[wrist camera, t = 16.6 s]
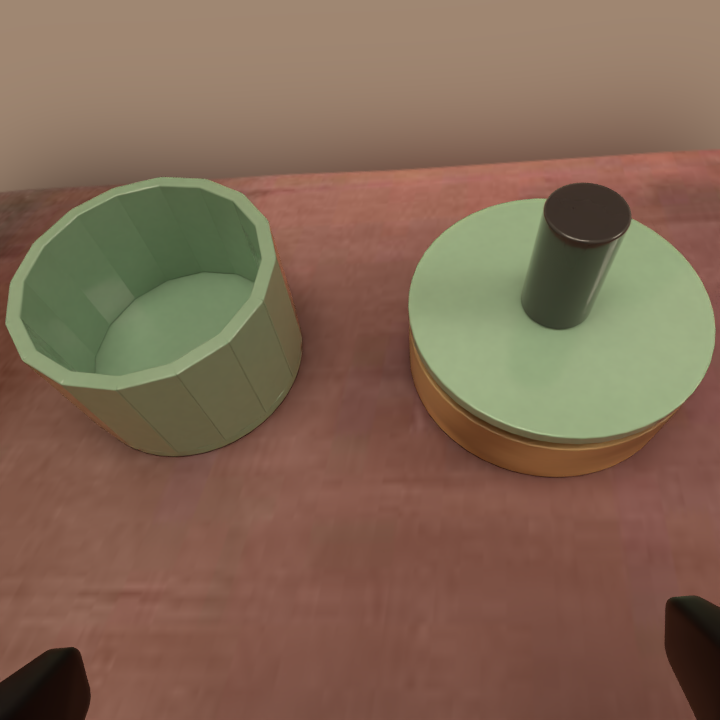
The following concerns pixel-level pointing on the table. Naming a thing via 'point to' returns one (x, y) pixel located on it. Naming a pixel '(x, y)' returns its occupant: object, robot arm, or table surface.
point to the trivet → (515, 448)
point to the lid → (561, 318)
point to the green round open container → (160, 314)
